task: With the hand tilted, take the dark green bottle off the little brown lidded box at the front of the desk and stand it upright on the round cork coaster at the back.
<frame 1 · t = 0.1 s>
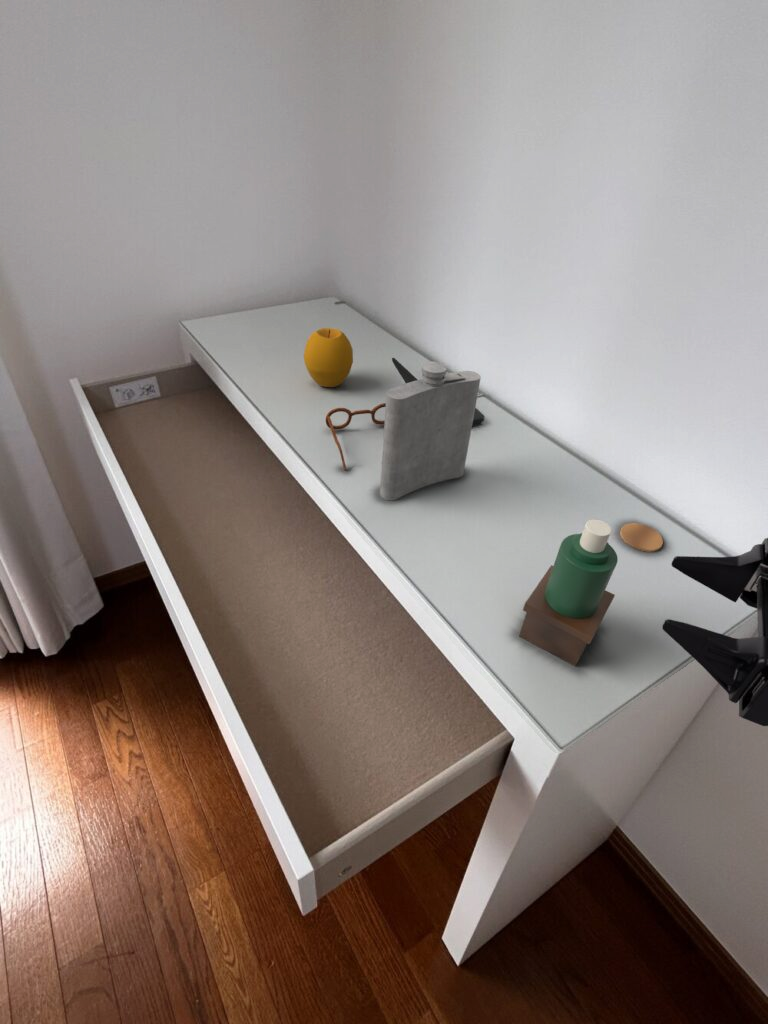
hand: (668, 590, 54), 16 cm above the table, tool horizontal, fingers open, 9 cm apart
bottle: (570, 598, 66), point 6 cm above the table, touching brown lidded box
brown lidded box: (557, 631, 70), on the table
glasses: (370, 447, 100), on the table
apple: (328, 385, 117), on the table
coaster: (640, 537, 85), on the table
game console: (435, 411, 111), on the table
hip flask: (421, 482, 93), on the table
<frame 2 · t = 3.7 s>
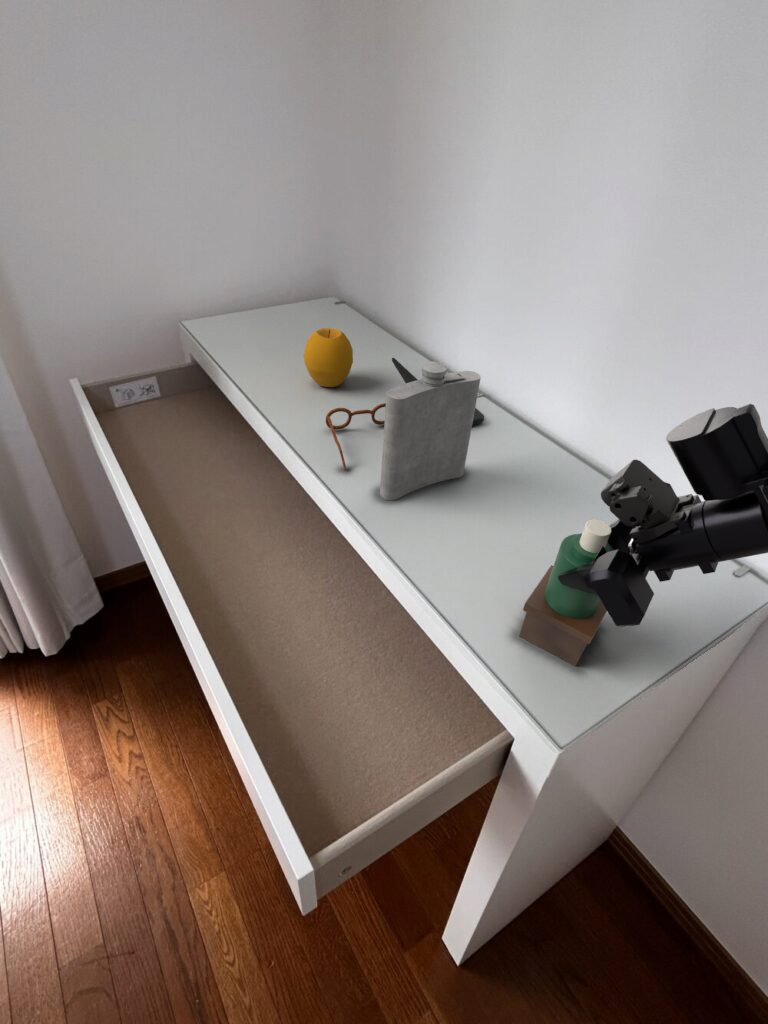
hand: (570, 563, 64), 11 cm above the table, tool tilted 45°, fingers closed on bottle, 6 cm apart
bottle: (570, 598, 66), point 6 cm above the table, touching gripper, brown lidded box
everything else where it was.
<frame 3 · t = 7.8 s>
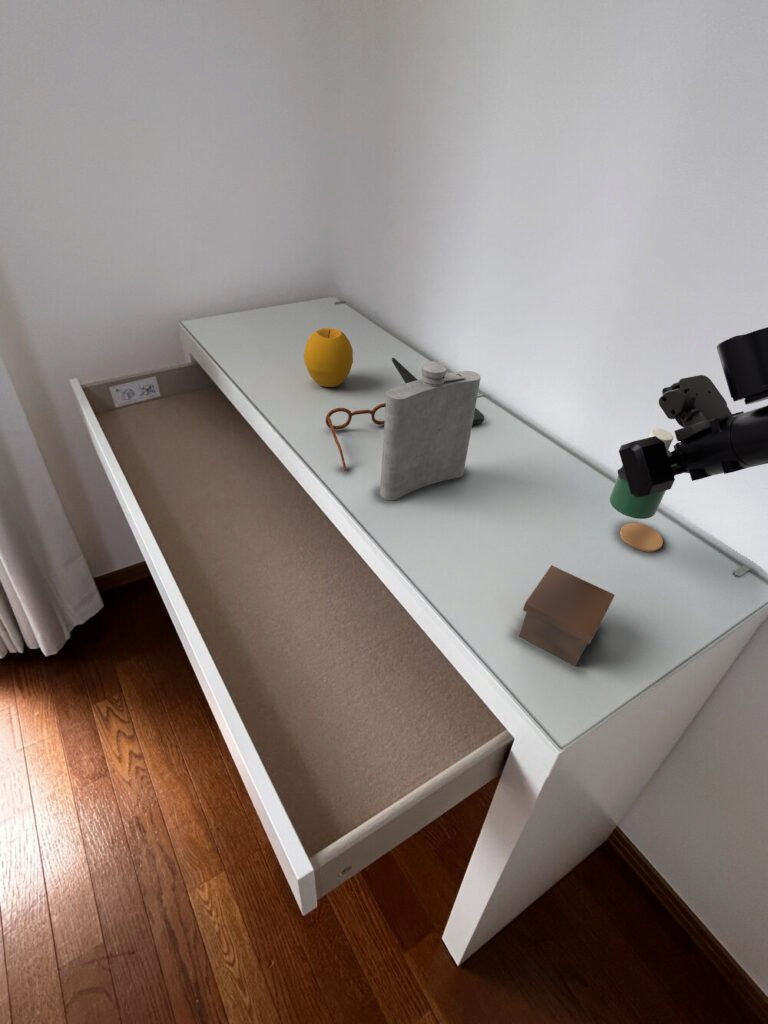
hand: (637, 469, 74), 14 cm above the table, tool tilted 45°, fingers closed on bottle, 6 cm apart
bottle: (632, 504, 76), point 9 cm above the table, touching gripper
everything else where it was.
when the fingers open (5 cm above the table, at t = 12.0 s): bottle stays where it is, resting on coaster.
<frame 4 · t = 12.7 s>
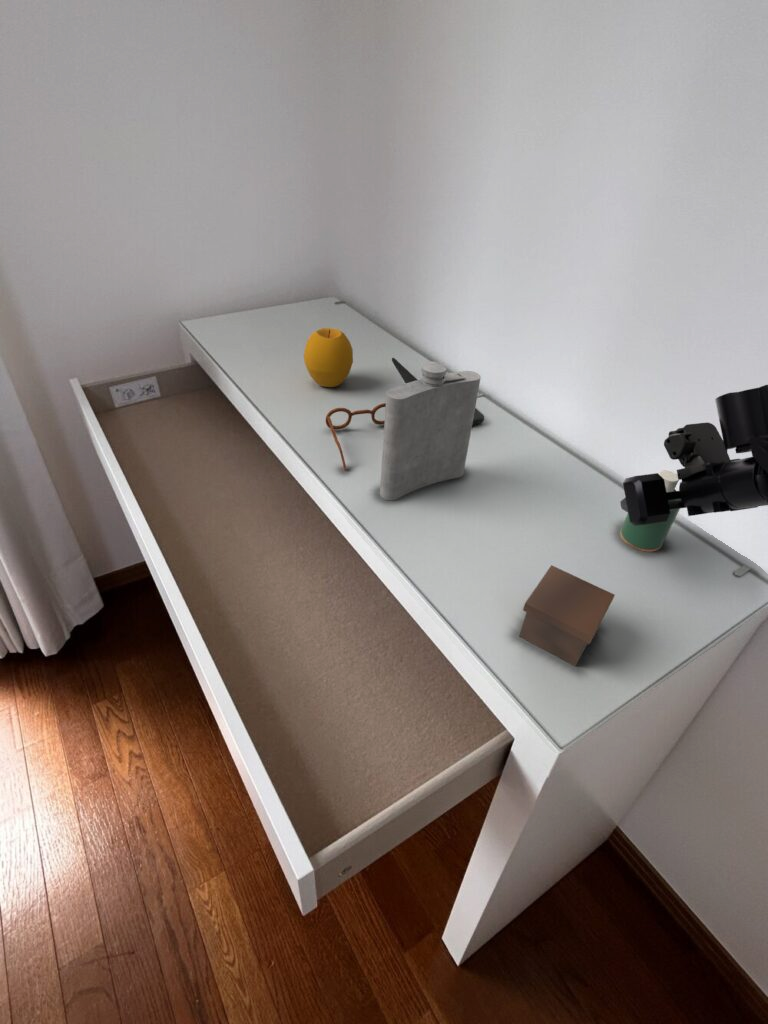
hand: (649, 501, 82), 6 cm above the table, tool tilted 45°, fingers open, 9 cm apart
bottle: (641, 535, 84), resting on coaster
everything else where it was.
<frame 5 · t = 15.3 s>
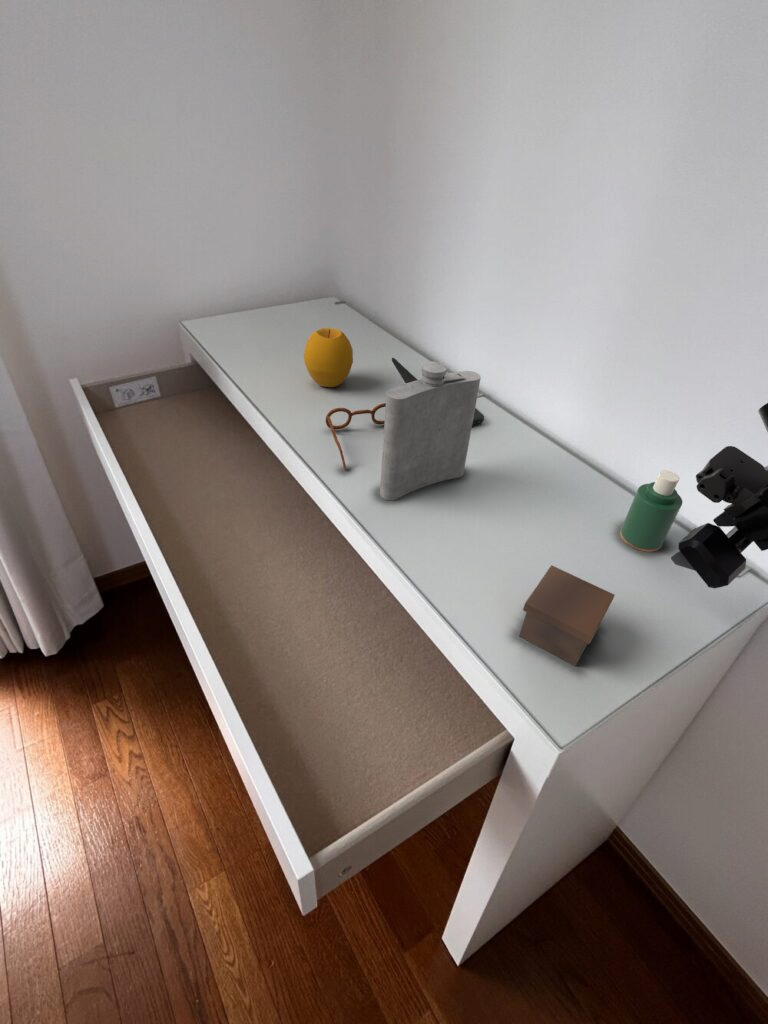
hand: (695, 541, 73), 8 cm above the table, tool tilted 35°, fingers open, 9 cm apart
nothing on the table moved.
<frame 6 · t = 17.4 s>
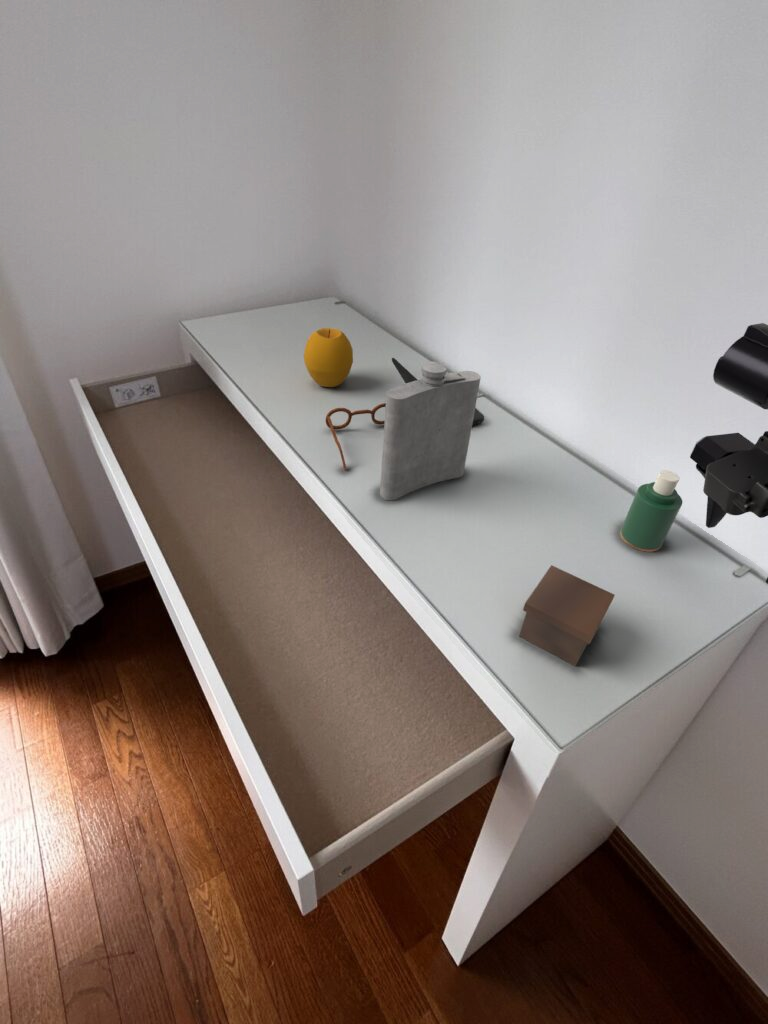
hand: (738, 553, 63), 13 cm above the table, tool pointing down, fingers open, 9 cm apart
nothing on the table moved.
at the end: bottle 0.0 cm off-centre on the coaster, point 0.4 cm above the coaster's base; bottle tilted 0° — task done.
